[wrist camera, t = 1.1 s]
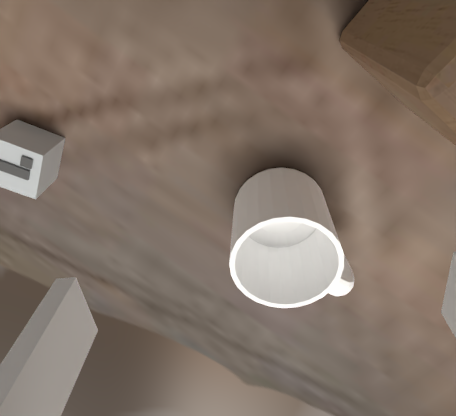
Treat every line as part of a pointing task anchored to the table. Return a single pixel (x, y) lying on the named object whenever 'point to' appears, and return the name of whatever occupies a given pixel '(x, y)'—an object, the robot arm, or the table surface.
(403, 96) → the block
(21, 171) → the marked cube
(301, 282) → the mug
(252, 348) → the table surface
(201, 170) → the table surface
